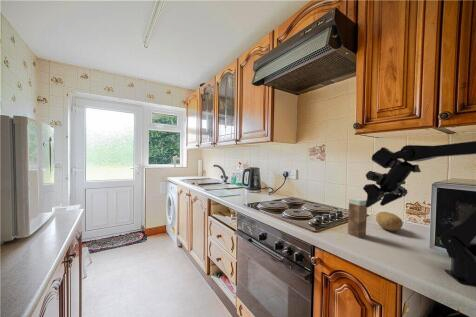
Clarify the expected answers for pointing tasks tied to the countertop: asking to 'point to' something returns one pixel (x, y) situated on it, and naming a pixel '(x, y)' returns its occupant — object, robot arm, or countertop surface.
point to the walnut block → (357, 217)
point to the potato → (389, 221)
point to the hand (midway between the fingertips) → (374, 205)
